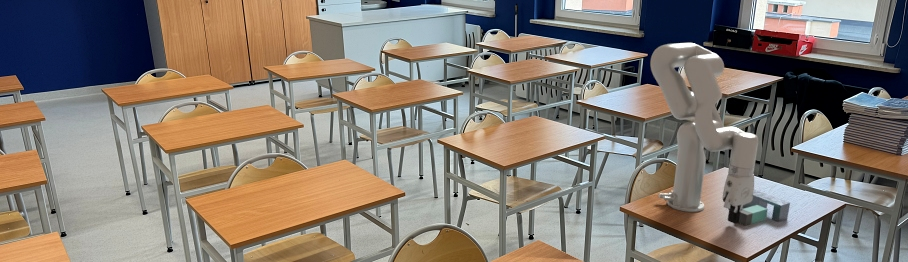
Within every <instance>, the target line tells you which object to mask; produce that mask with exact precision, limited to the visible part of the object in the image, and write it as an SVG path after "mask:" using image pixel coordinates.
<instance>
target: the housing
mask: <svg viewBox="0 0 908 262" xmlns="http://www.w3.org/2000/svg"><path fill="white" fill-rule="evenodd" d="M755 205H759V206H762V207H764V208H767V209H768V205H771V206H773V209H772V214H771V215H772V216H771V220H773V221H775V222H778V223H779V222H781V221H785V220H788V217H789V210H790V206H791V202H789V201H787V200H784V199H782V198H781V199H780V198H778V197H775V196H773V195H770V194H767V193H764V192H762V191H759V190H756V189H754V193H753V199H752V201H751V202H750V203H747V204H745V205H744V206H743V208H742V209H744V208H748V207H752V206H755Z"/></svg>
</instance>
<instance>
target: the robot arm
mask: <svg viewBox="0 0 908 262" xmlns="http://www.w3.org/2000/svg"><path fill="white" fill-rule="evenodd" d="M682 67H683V71H684V72H685V73H684V74H685V77H686V78H687V81H688V84H689V86H690V88H689V87H688V85H687V83H686V81H685V78H683V76H682V75H681V74H680V73H679V72H678V71H677V70H676V69H675V68H682ZM650 71H651V73H652V75H653V78H654V79H655V80H656V83H657V84H658V86H659V87H660V90H661V91H662V95H663V97H664V100H665V102H666V104H667V106H668V109H669V110H670V113H671V114H672V116H673V117H674V118H675V119H677V120H680V121H683V120H689V121H686V122H683V124H681V125H680V126H679V128H678V129H677V133H676V138H677V139H676V141H677V154H676V155H677V157H676V166H675V172H674V173H675V175H674V183H673V188H672V189H671V190H670V192H668V193H665V192H658V193H659V194H658V198H659V199H663V201H666V202H667V206H668V207H670V208H672V209H674V210H677V211H682V212H686V213H699V212H702V211H703V210H704V209H705V204H704V202H703V201H701V199H702V198H701V197H702V192H703V191H702V190H703V183H704V176H705V170H706V161H707V160H706V159H707V158H706V155H705V151H704V149H705V150H706V151H709V152H711V153H713V152H714V153H715V152H716V153H717V152H721V151H726V150H731V151H730V159H729V164H728V171H727V173H728V174H727V175H726V179H725V182H724V187H723V191H722V202H723V208H725V209H728V214H727V215H728V216H727V221H728V222H729V223H732V224H740V223H739V219H740V212H741V211H742V209H744V208H743V206H744V205H745V204H747V203H750V202H751V201H752V199H753V193H754V190H755V174H754V172H755V165H756V159H757V153H758V147H759V146H758V145H759V137H758V135H757V134H754V133H751V132H747V131H746V132H745V131H743V130H742V129H740V128H738V127H736V126H732V125H731V126H729V125H728V126H725V125H724V123H723V120H722V119H721V116H720V114H719V112H718V111H719V110H717V107H716V104H717V102H719V101H720V100H721V99H722V97H723V93H722V90H721V88H720V85H719V83H718V81H717V78H718V77H721V75H723V72H724V71H725V64H724V61H723V59H722V58H721V57H720V56H719V55H718V54H717V53H715V52H712V51H711V50H709V49H707V48H704V47H703V46H701V45H699V44H696V43H693V42H680V43H679V42H678V43H667V44H663V45H660V46H658V47H657V48H656V49H654V51H653V53H652V55H651V57H650ZM690 89H691V90H690ZM690 119H694V120H690Z"/></svg>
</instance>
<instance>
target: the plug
mask: <svg viewBox="0 0 908 262" xmlns="http://www.w3.org/2000/svg"><path fill="white" fill-rule="evenodd" d="M767 215H768V207H767V208H764V207H762V206H759V205H755V206H752V207H748V208H742V211H741V212H740V219H739V223H738V224H740V225H743V226H745V227H746V226H749V225H752V224H756V223H760V222H761V221H762V222H763V221H766V220H767Z"/></svg>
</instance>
